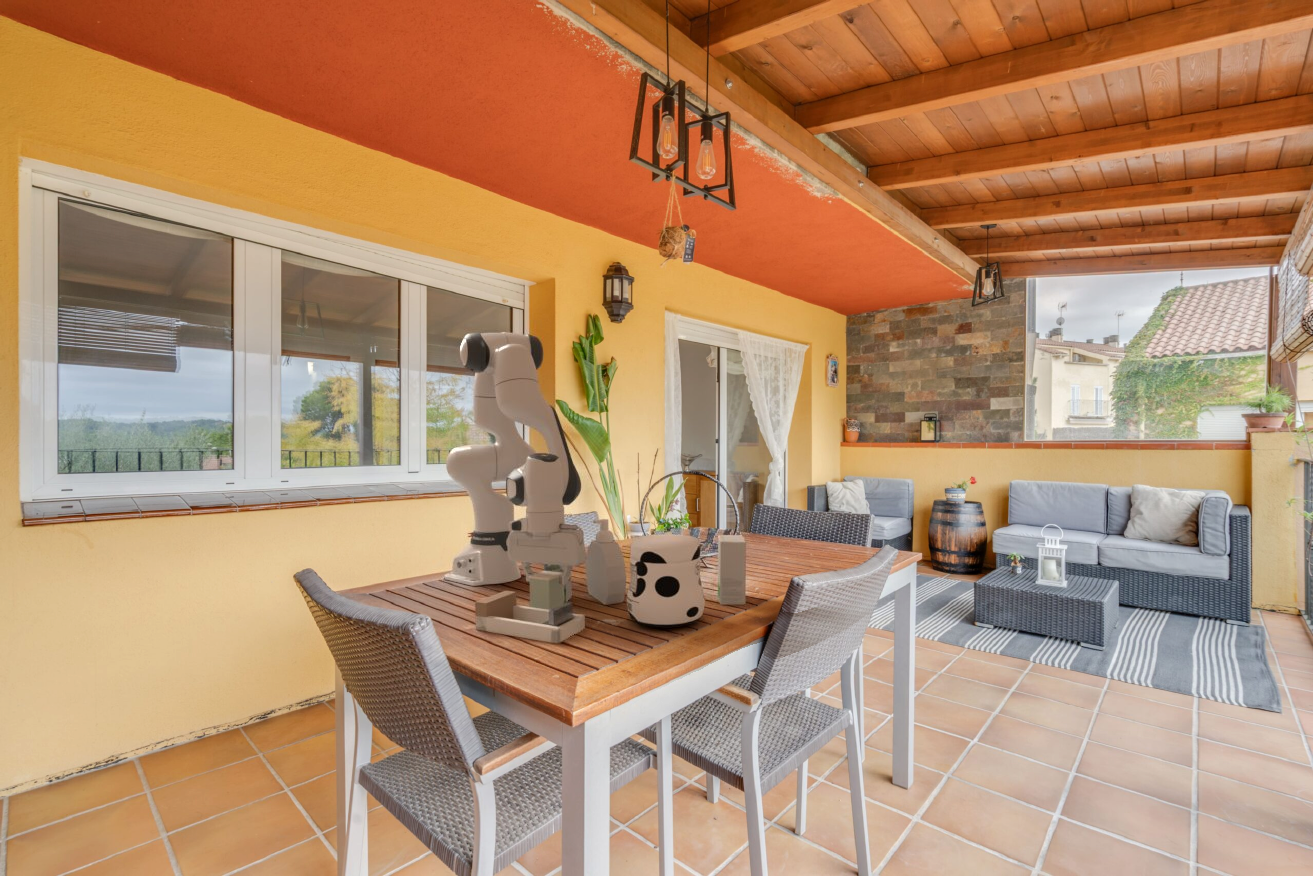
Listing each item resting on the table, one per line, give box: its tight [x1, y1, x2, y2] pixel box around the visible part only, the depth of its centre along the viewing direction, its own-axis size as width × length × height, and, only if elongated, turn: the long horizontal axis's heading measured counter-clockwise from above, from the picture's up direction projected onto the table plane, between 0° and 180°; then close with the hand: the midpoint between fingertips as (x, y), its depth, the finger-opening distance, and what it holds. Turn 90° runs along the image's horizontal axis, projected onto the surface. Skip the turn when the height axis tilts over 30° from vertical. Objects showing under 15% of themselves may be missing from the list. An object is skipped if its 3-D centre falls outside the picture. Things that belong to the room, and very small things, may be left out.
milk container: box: [626, 533, 706, 629], centre depth 136 cm, size 17×17×18 cm
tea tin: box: [529, 570, 565, 610], centre depth 143 cm, size 6×6×9 cm
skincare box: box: [717, 534, 747, 606], centre depth 151 cm, size 8×7×16 cm
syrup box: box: [543, 564, 573, 604], centre depth 154 cm, size 6×6×14 cm
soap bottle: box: [585, 518, 627, 606], centre depth 155 cm, size 16×5×20 cm, turn 26°
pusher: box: [542, 601, 574, 627], centre depth 129 cm, size 4×7×6 cm, turn 153°
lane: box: [474, 590, 586, 645], centre depth 132 cm, size 22×10×6 cm, turn 63°
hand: (546, 582), depth 143 cm, fingers open, 8 cm apart
